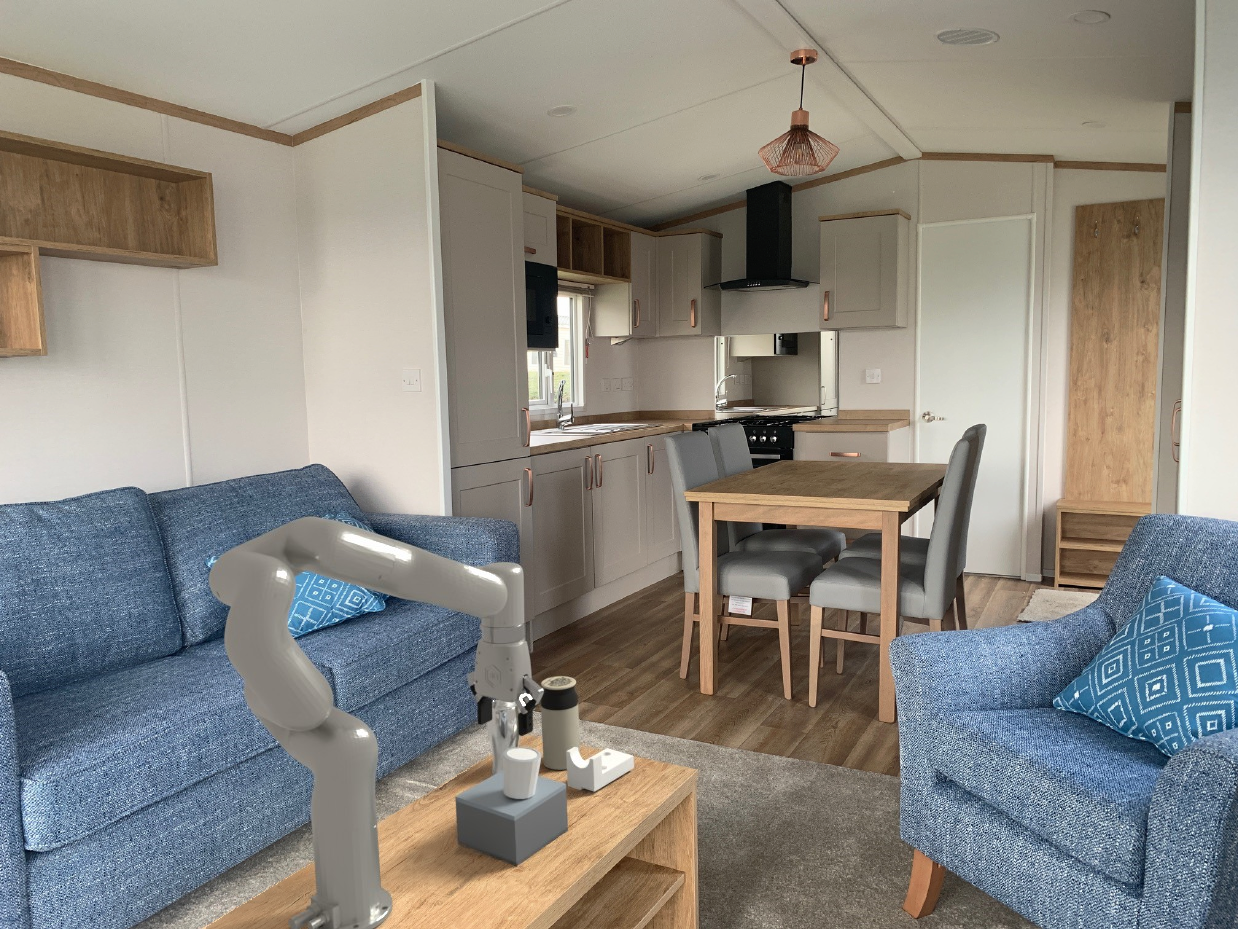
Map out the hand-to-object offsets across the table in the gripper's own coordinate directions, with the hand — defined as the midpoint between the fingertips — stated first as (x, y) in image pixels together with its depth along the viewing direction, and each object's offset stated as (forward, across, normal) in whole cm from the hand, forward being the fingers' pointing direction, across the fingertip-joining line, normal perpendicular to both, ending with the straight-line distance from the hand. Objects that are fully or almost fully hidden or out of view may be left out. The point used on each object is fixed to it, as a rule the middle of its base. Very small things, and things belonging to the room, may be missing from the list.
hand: (505, 727), depth 155 cm
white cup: (+12, +2, +1) cm, 12 cm away
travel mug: (+20, -12, +30) cm, 38 cm away
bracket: (+20, 0, +29) cm, 35 cm away
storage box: (+20, 0, +1) cm, 21 cm away
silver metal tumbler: (+20, -19, +20) cm, 34 cm away
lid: (+13, 0, +1) cm, 13 cm away
